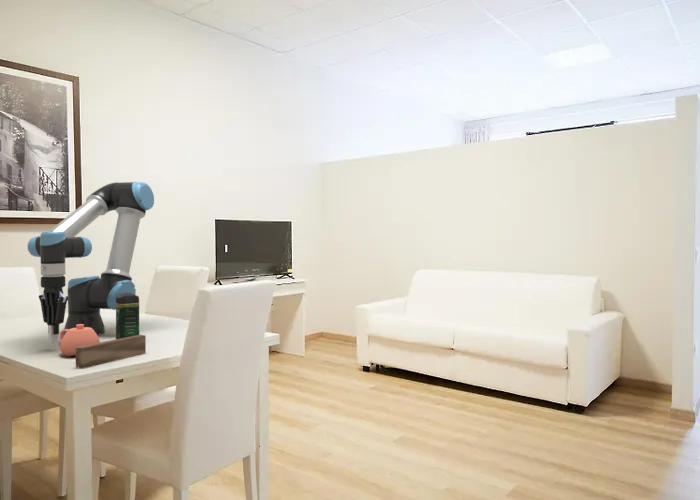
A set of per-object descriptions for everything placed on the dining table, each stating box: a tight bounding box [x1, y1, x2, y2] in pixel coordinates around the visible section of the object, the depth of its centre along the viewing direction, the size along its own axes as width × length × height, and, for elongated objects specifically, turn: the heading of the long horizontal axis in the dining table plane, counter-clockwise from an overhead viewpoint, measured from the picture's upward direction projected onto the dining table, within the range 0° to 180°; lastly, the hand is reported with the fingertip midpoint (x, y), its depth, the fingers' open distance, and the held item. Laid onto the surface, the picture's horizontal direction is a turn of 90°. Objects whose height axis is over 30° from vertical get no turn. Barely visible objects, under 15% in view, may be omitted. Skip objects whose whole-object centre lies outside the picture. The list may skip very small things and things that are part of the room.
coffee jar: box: [115, 293, 140, 339], centre depth 202 cm, size 10×8×19 cm
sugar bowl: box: [58, 324, 101, 357], centre depth 181 cm, size 12×14×10 cm
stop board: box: [75, 334, 147, 369], centre depth 174 cm, size 3×24×6 cm, turn 153°
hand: (53, 343), depth 187 cm, fingers closed
